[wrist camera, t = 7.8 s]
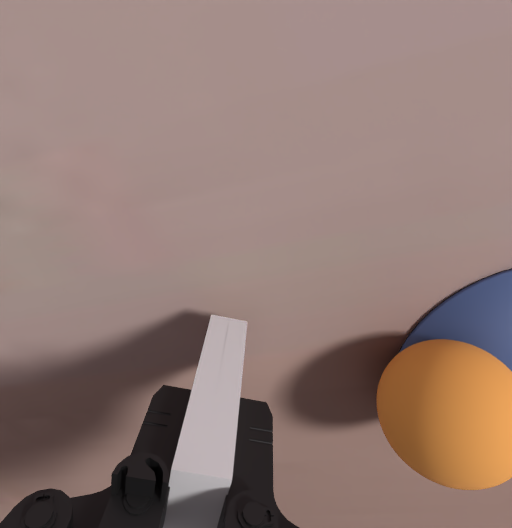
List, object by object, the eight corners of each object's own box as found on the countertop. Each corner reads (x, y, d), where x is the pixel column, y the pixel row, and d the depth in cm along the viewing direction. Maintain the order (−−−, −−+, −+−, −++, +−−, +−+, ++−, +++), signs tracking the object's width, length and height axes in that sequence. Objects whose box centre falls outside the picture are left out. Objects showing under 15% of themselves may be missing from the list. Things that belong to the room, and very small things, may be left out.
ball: (390, 518, 14) (378, 406, 19) (561, 532, 12) (500, 405, 17) (374, 413, 12) (365, 318, 16) (578, 413, 10) (502, 308, 15)
